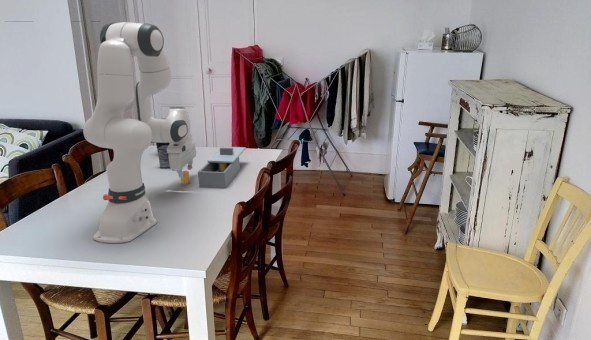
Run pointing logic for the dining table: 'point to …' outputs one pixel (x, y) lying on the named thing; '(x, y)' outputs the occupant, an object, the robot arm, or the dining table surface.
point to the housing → (218, 174)
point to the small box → (163, 156)
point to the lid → (227, 154)
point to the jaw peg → (185, 178)
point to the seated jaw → (222, 167)
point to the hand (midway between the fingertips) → (185, 173)
